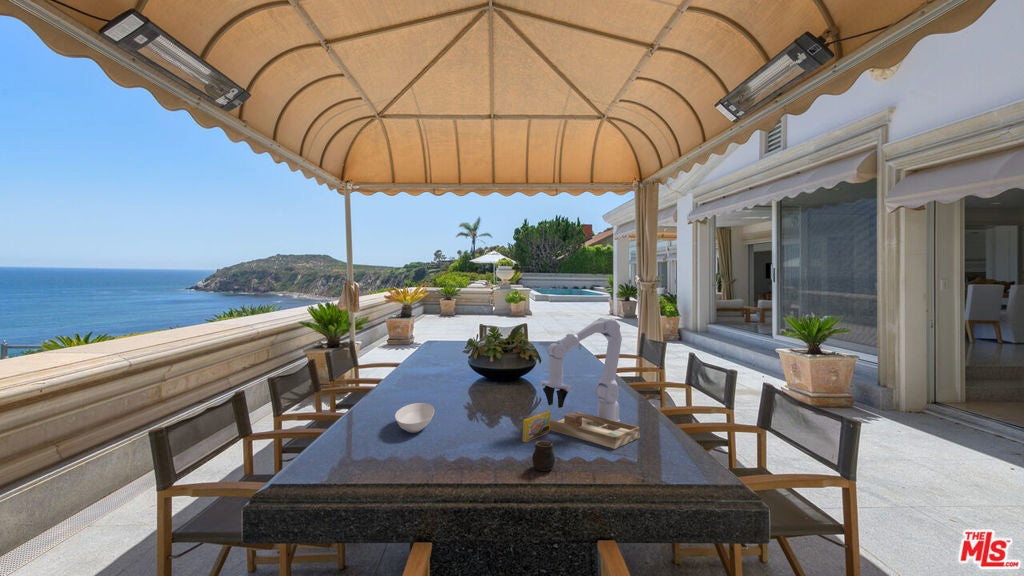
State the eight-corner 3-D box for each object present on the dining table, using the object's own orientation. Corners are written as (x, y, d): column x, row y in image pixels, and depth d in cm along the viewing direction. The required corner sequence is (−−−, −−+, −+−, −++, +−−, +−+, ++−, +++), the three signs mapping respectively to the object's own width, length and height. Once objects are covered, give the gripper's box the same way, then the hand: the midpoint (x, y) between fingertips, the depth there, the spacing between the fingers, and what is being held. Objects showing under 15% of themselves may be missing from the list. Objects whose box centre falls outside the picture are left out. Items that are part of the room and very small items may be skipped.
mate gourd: (540, 462, 150) (541, 431, 150) (560, 468, 146) (561, 437, 146) (527, 468, 145) (528, 437, 145) (546, 475, 140) (547, 442, 140)
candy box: (526, 443, 169) (527, 420, 169) (521, 441, 171) (522, 419, 171) (550, 432, 182) (550, 411, 182) (545, 431, 183) (546, 410, 183)
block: (571, 422, 187) (571, 412, 187) (581, 425, 183) (582, 415, 183) (564, 425, 183) (564, 415, 183) (574, 428, 179) (574, 417, 179)
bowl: (429, 440, 171) (430, 423, 171) (388, 440, 170) (388, 423, 170) (437, 417, 201) (437, 403, 201) (402, 417, 200) (402, 403, 200)
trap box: (575, 420, 198) (576, 411, 198) (639, 437, 177) (640, 427, 177) (549, 429, 185) (549, 419, 185) (614, 448, 164) (615, 437, 164)
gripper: (536, 371, 191) (535, 404, 191) (564, 376, 181) (563, 411, 181) (547, 369, 196) (546, 401, 196) (574, 374, 186) (574, 408, 186)
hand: (555, 406), depth 189 cm, fingers open, 5 cm apart
